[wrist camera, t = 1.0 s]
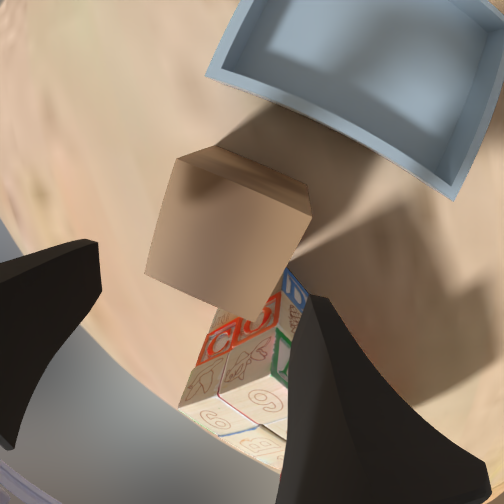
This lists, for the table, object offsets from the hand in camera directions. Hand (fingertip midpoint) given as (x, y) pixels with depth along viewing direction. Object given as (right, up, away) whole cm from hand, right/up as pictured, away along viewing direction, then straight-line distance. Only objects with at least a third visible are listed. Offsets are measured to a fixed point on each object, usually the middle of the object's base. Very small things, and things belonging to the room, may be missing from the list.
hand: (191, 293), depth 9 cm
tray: (+9, +13, +3) cm, 16 cm away
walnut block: (+1, +4, +9) cm, 10 cm away
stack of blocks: (+8, -9, +14) cm, 18 cm away
